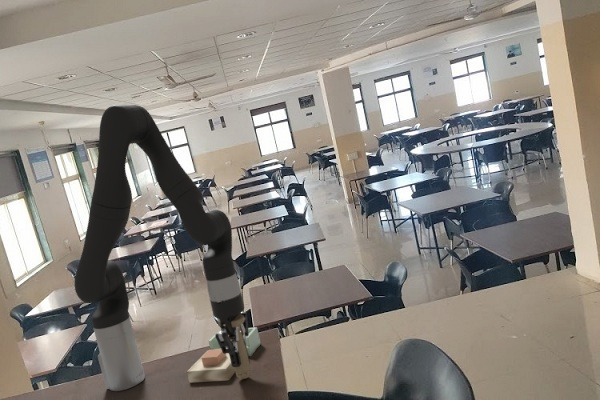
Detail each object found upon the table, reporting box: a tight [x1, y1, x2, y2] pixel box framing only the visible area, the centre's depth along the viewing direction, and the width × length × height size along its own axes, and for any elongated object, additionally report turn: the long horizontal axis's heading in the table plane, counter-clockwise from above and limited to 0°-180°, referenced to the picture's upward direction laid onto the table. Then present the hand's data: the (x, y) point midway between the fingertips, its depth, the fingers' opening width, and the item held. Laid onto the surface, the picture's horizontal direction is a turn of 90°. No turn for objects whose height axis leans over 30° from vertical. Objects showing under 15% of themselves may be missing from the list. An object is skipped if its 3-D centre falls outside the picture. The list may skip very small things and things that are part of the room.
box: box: [208, 326, 262, 357], centre depth 142 cm, size 12×8×5 cm, turn 74°
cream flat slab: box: [186, 349, 236, 384], centre depth 132 cm, size 11×12×3 cm
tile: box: [200, 349, 226, 365], centre depth 131 cm, size 4×4×2 cm
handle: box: [217, 314, 251, 381], centre depth 123 cm, size 5×6×15 cm
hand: (240, 361), depth 123 cm, fingers closed on handle, 4 cm apart
